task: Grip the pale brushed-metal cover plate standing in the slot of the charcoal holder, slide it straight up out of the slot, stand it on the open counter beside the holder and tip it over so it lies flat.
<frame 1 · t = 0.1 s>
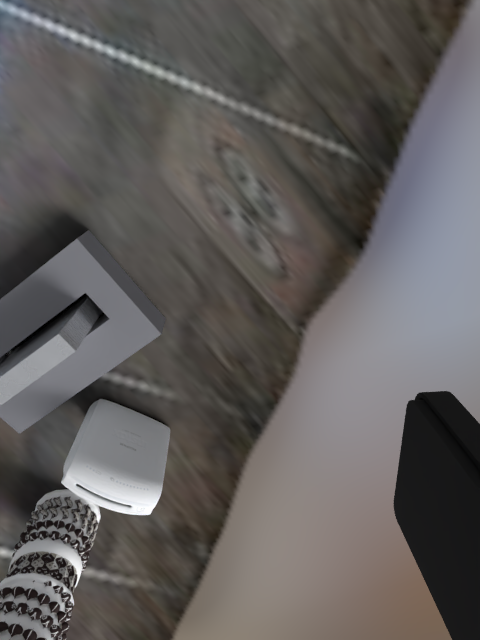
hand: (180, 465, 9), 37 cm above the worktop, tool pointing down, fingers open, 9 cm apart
white rounded box: (131, 421, 53), on the worktop
cover plate: (40, 351, 43), in the slot holder
slot holder: (58, 328, 48), on the worktop
decorative candle: (69, 512, 58), on the worktop
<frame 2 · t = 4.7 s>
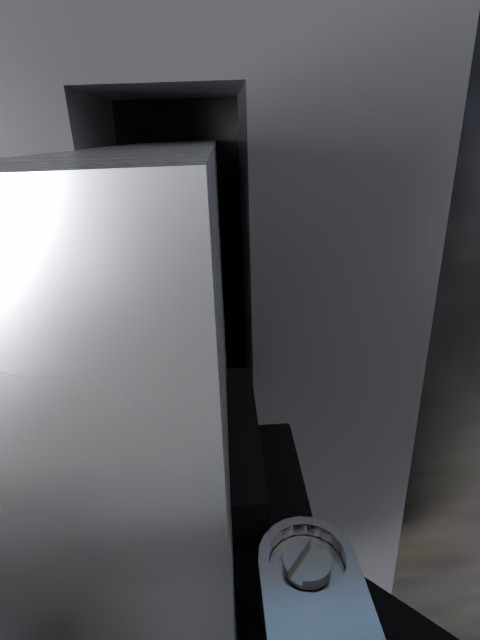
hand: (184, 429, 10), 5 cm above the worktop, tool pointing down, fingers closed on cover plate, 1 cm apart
cover plate: (183, 442, 10), in the slot holder, touching gripper
slot holder: (193, 332, 15), on the worktop
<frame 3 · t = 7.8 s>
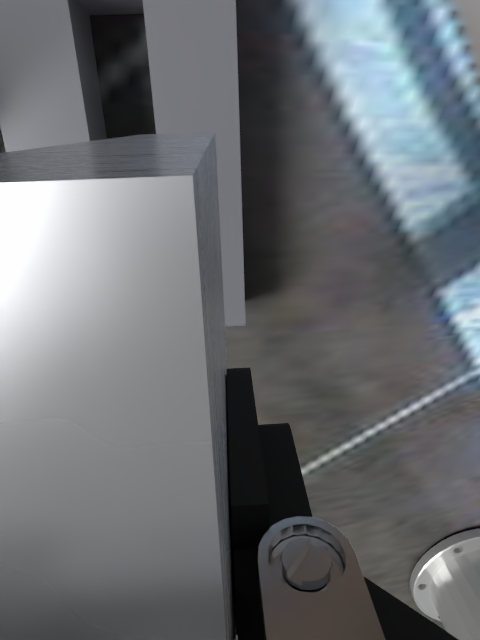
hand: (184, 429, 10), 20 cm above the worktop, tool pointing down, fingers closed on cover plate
cover plate: (181, 447, 9), point 21 cm above the worktop, touching gripper
slot holder: (137, 152, 26), on the worktop
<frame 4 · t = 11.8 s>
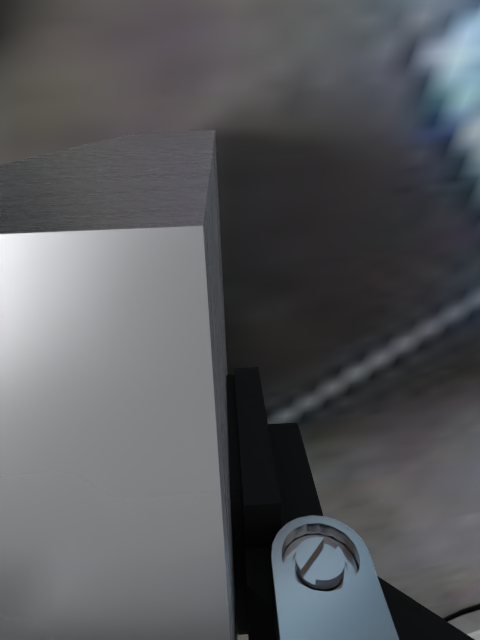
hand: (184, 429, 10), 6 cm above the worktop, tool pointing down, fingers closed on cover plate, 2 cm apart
cover plate: (181, 453, 9), point 7 cm above the worktop, touching gripper
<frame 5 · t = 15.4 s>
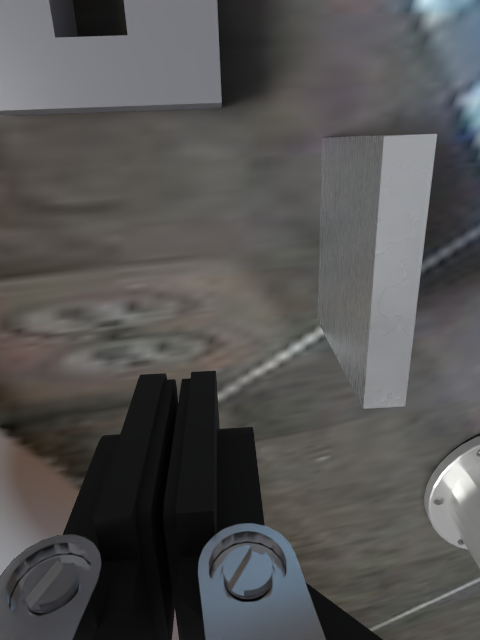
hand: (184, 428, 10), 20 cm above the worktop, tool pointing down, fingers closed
cover plate: (358, 256, 24), on the worktop
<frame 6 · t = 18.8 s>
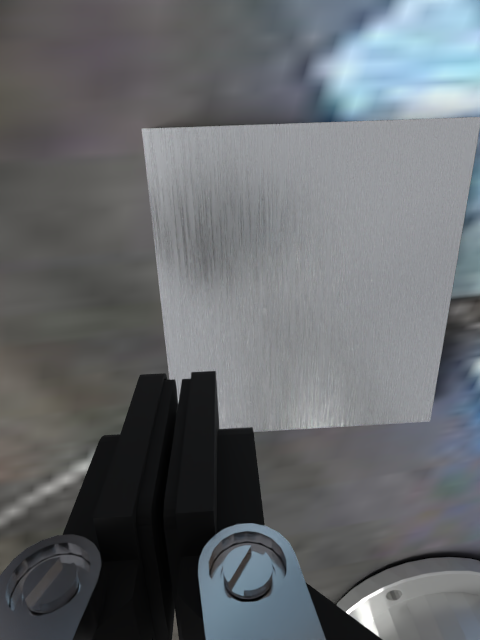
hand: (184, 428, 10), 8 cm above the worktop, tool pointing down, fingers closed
cover plate: (303, 289, 17), on the worktop, tilted 90°
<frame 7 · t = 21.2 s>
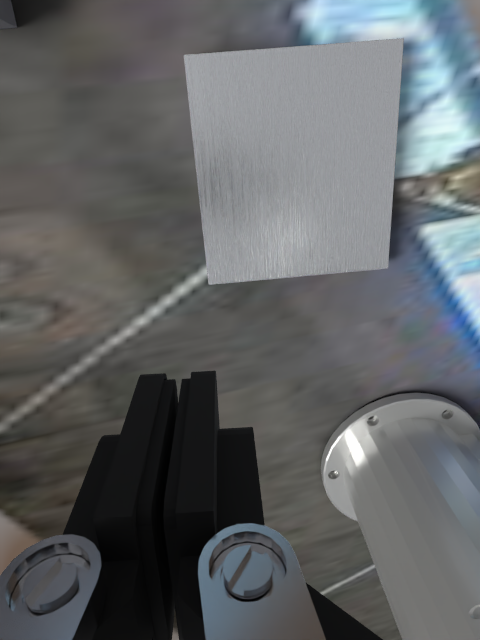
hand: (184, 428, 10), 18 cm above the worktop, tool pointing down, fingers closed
cover plate: (293, 171, 25), on the worktop, tilted 90°
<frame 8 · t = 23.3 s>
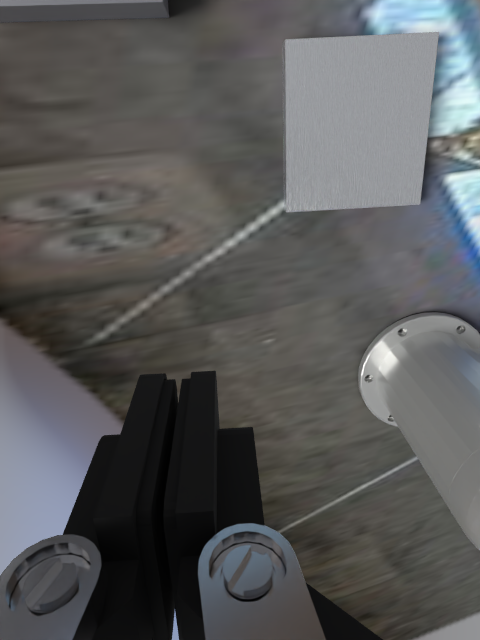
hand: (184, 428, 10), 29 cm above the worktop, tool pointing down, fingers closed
cover plate: (353, 128, 34), on the worktop, tilted 90°
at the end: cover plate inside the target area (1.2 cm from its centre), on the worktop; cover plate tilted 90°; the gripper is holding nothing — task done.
